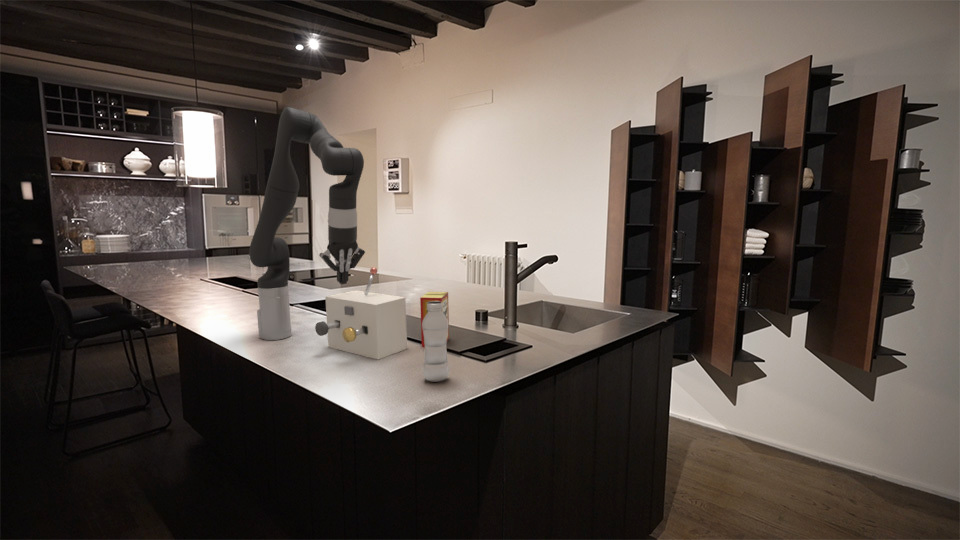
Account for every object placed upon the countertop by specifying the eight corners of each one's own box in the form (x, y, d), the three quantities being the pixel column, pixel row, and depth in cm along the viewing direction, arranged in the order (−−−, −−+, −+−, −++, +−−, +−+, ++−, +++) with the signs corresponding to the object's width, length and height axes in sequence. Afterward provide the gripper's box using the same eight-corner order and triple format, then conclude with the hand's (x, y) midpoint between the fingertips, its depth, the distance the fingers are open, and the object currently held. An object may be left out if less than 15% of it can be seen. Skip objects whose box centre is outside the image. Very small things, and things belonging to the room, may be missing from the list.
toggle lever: (360, 294, 146) (369, 266, 149) (365, 296, 148) (374, 268, 150) (365, 294, 145) (374, 266, 147) (370, 296, 147) (379, 269, 149)
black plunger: (315, 334, 142) (314, 321, 142) (334, 329, 148) (334, 316, 147) (324, 336, 140) (323, 323, 139) (343, 331, 146) (342, 318, 145)
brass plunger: (342, 341, 136) (342, 327, 135) (361, 335, 141) (361, 321, 141) (352, 343, 133) (351, 329, 133) (371, 337, 139) (370, 323, 138)
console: (326, 347, 149) (323, 297, 147) (358, 337, 160) (355, 290, 158) (376, 360, 137) (373, 305, 135) (407, 348, 148) (405, 297, 145)
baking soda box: (442, 348, 148) (441, 296, 146) (421, 347, 149) (420, 296, 147) (449, 339, 157) (448, 290, 155) (429, 338, 158) (428, 290, 156)
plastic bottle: (423, 375, 125) (421, 300, 122) (449, 374, 125) (447, 299, 122) (422, 385, 118) (420, 305, 115) (449, 384, 119) (448, 305, 116)
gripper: (325, 229, 123) (326, 291, 129) (371, 224, 132) (370, 283, 137) (313, 222, 128) (314, 282, 134) (358, 218, 137) (357, 275, 143)
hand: (342, 283), depth 136 cm, fingers closed
